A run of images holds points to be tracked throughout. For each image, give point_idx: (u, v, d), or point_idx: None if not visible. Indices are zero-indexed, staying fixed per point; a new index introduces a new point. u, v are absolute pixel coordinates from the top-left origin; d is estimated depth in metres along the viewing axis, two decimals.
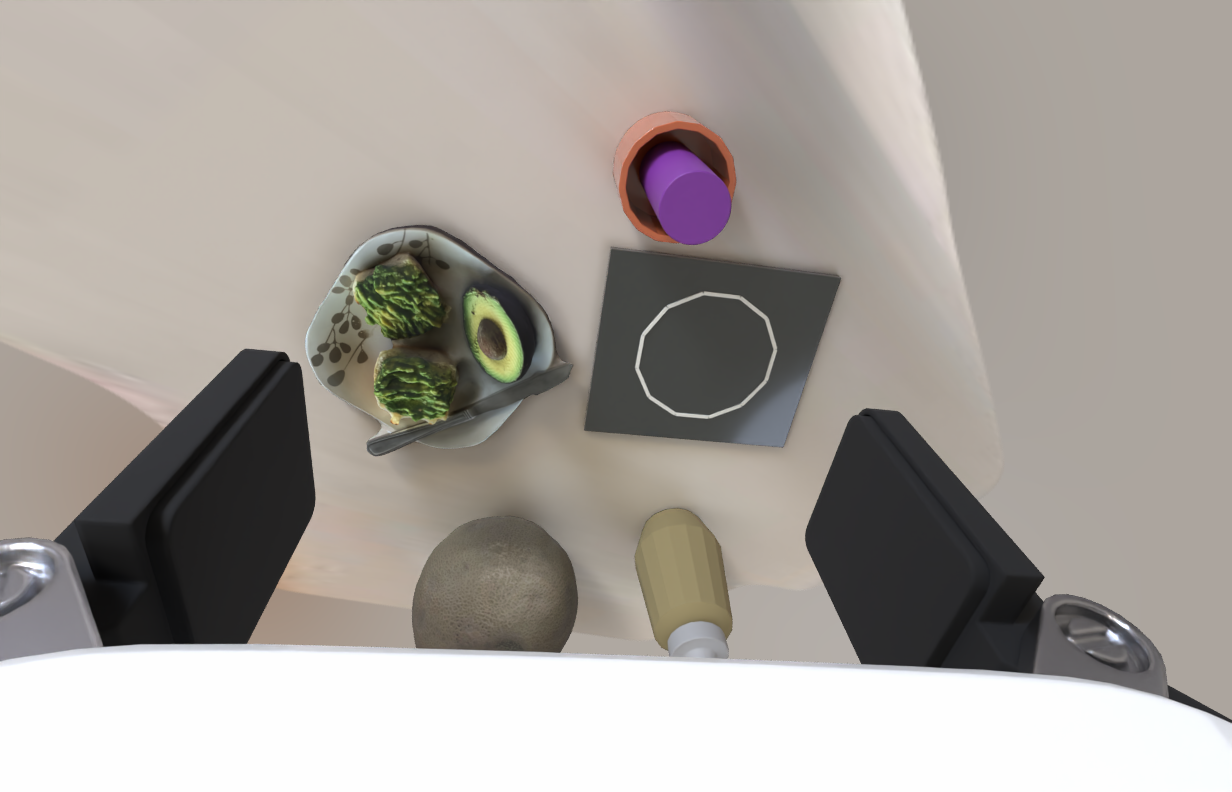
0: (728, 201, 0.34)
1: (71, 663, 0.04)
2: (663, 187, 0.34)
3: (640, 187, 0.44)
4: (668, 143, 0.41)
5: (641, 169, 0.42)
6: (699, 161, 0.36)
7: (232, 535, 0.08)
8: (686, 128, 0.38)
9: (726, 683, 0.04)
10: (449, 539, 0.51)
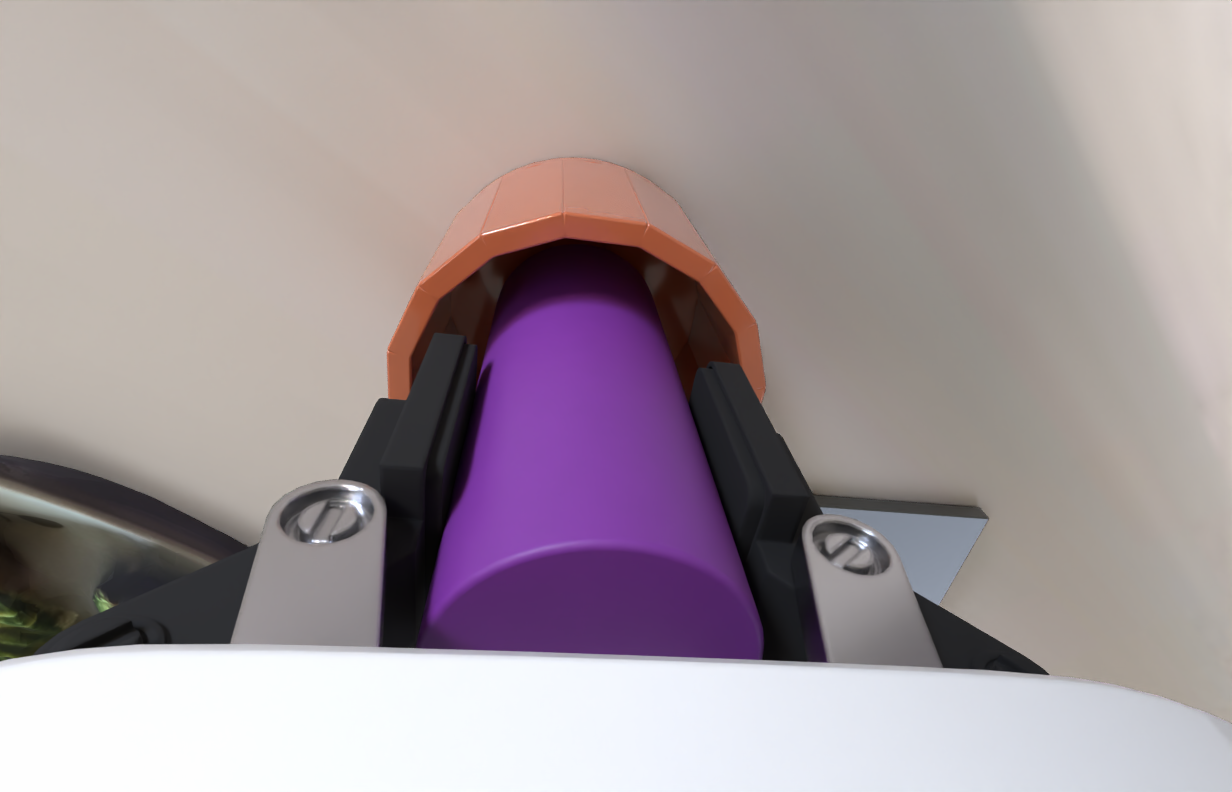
0: (749, 642, 0.07)
1: (71, 663, 0.04)
2: (436, 580, 0.07)
3: None
4: (564, 255, 0.14)
5: None
6: (632, 382, 0.09)
7: None
8: (595, 236, 0.11)
9: (726, 683, 0.04)
10: None
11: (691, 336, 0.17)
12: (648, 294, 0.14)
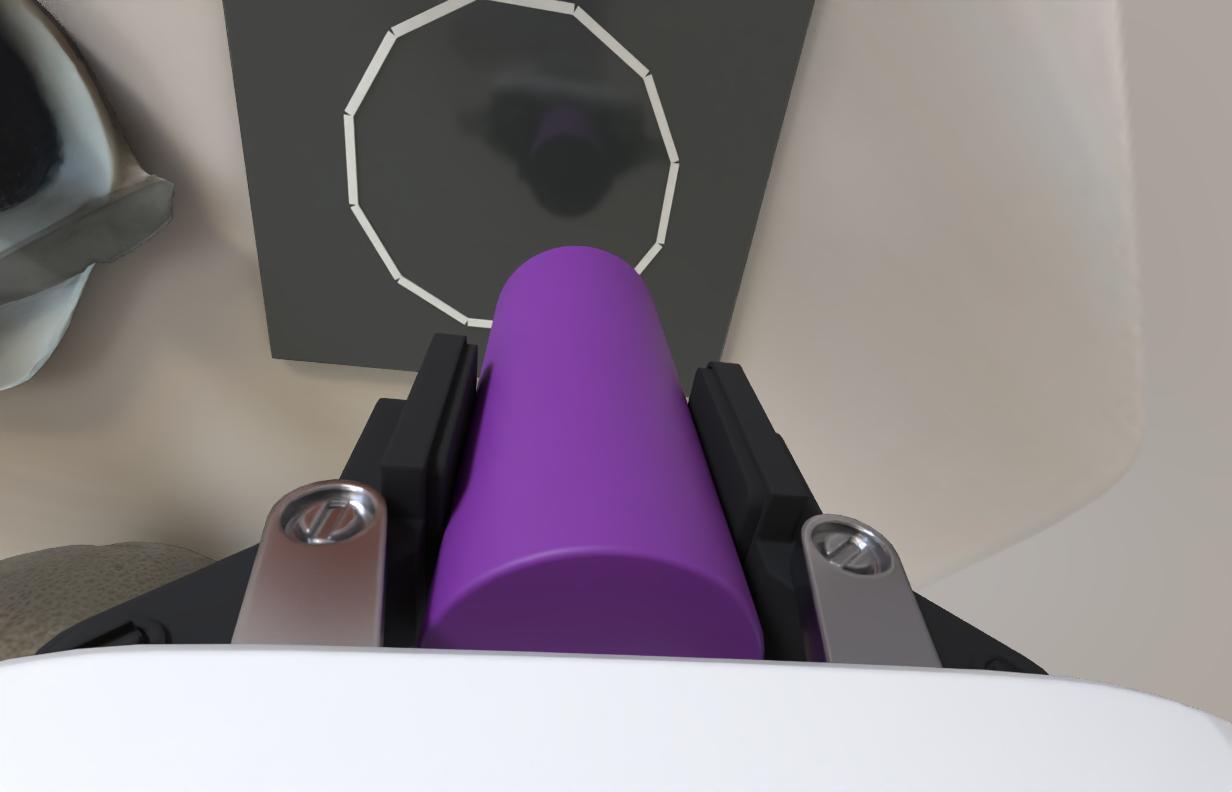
0: (750, 647, 0.07)
1: (71, 663, 0.04)
2: (436, 585, 0.07)
3: None
4: (564, 257, 0.14)
5: None
6: (632, 386, 0.09)
7: None
8: None
9: (726, 683, 0.04)
10: None
11: None
12: (648, 296, 0.14)
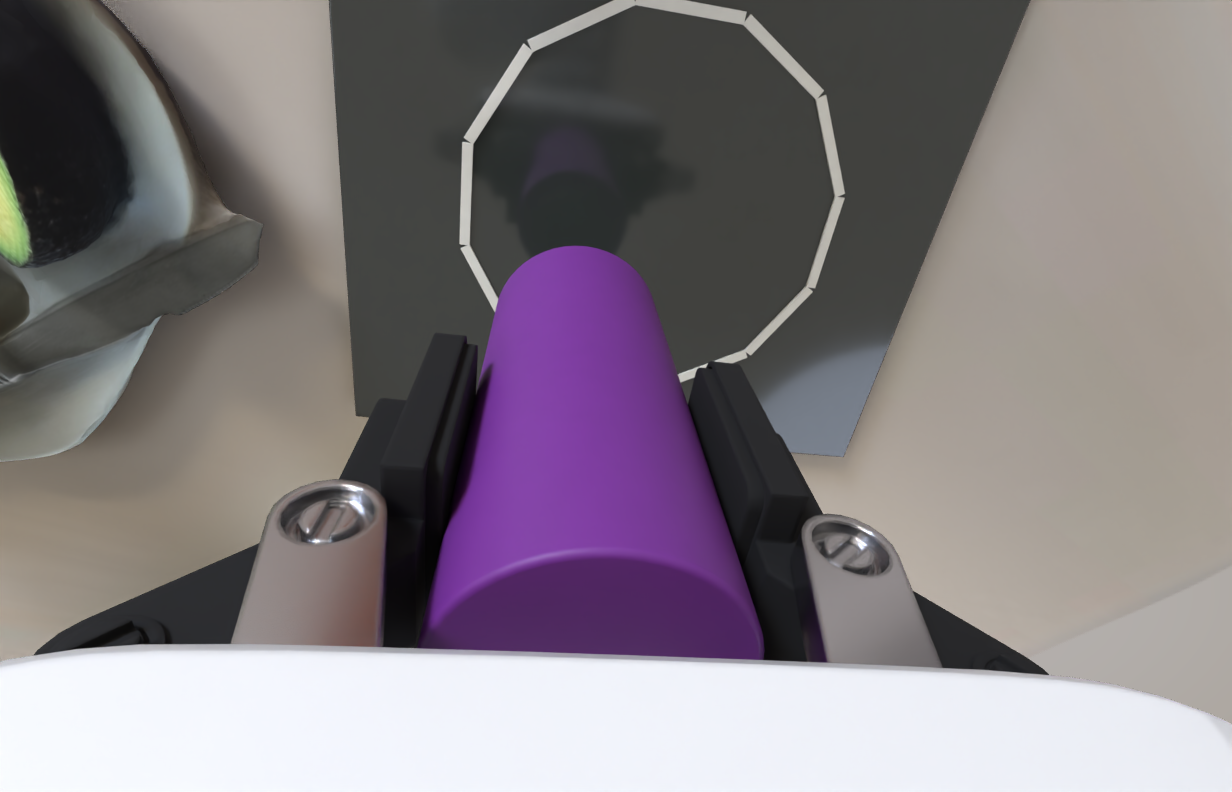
0: (750, 649, 0.07)
1: (71, 663, 0.04)
2: (436, 587, 0.07)
3: None
4: (564, 257, 0.14)
5: None
6: (632, 387, 0.09)
7: None
8: None
9: (726, 683, 0.04)
10: None
11: None
12: (648, 296, 0.14)
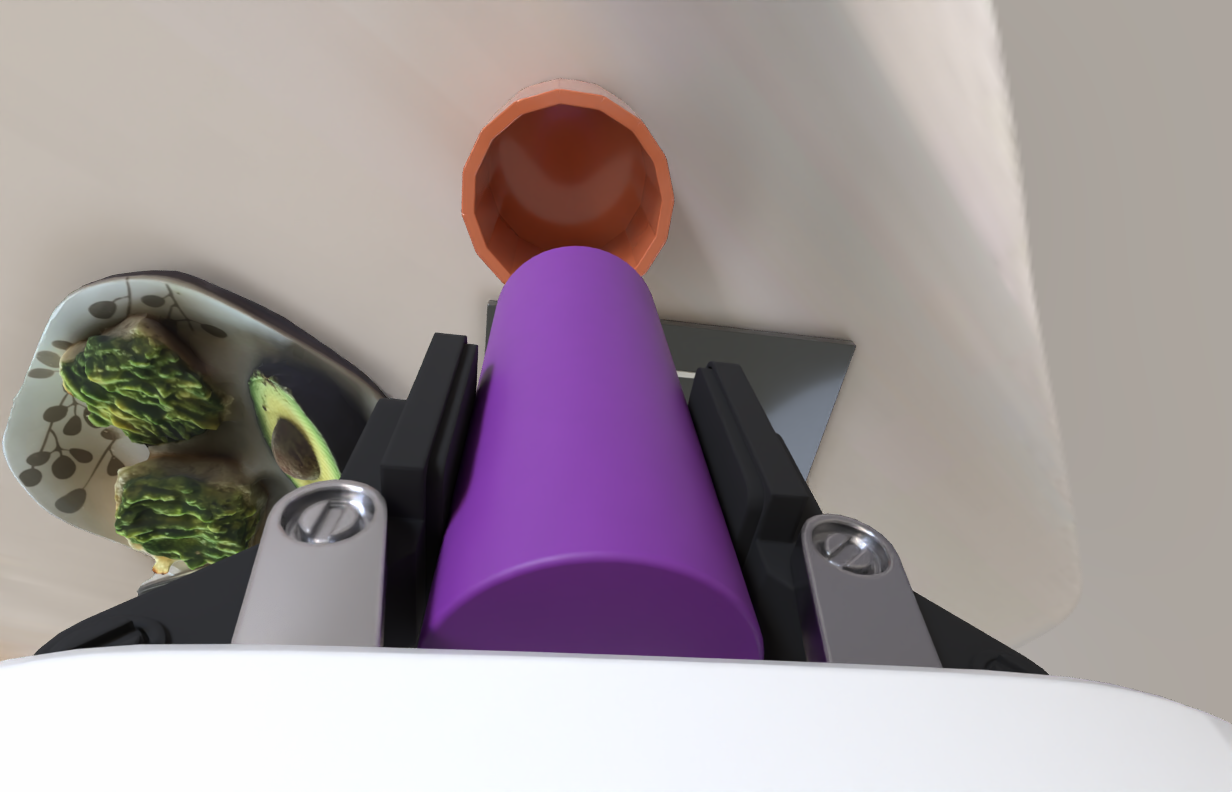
0: (750, 652, 0.07)
1: (71, 663, 0.04)
2: (436, 590, 0.07)
3: (526, 207, 0.27)
4: (564, 257, 0.14)
5: None
6: (632, 389, 0.09)
7: None
8: (576, 103, 0.20)
9: (726, 683, 0.04)
10: None
11: (642, 199, 0.27)
12: (648, 297, 0.14)
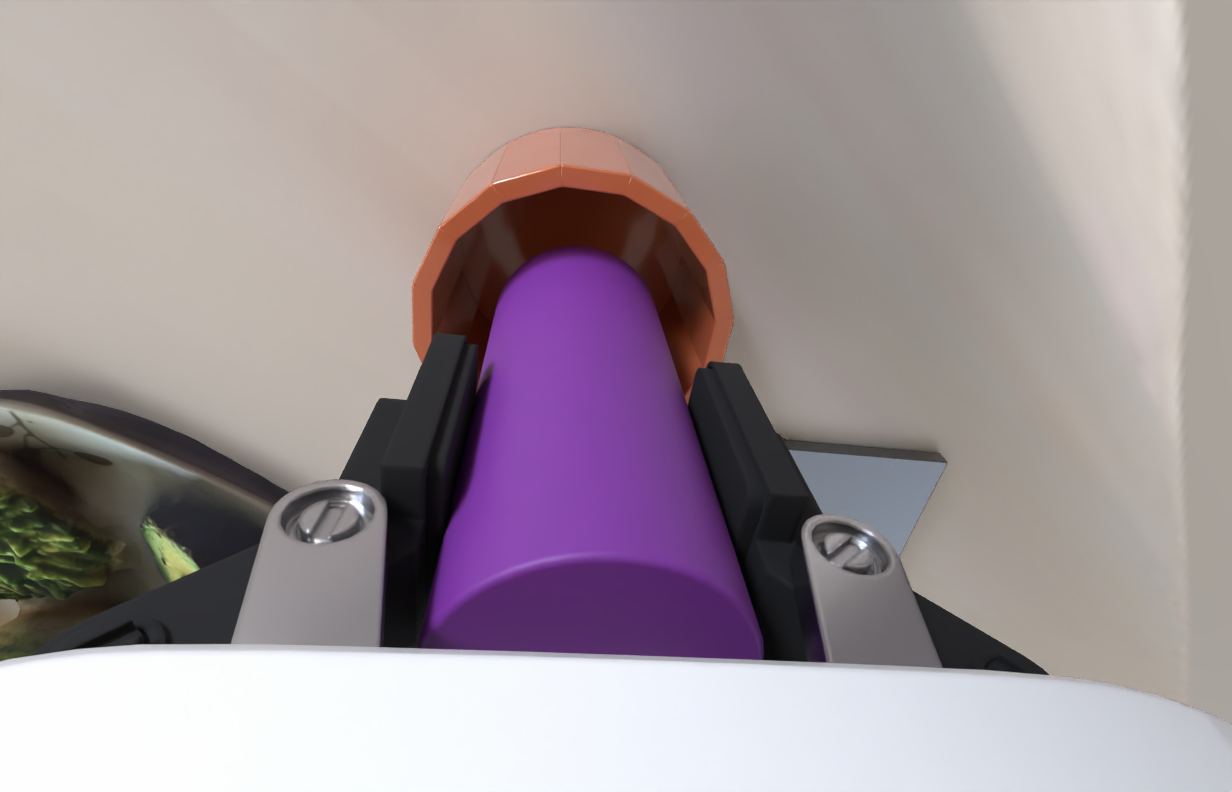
0: (749, 652, 0.07)
1: (72, 663, 0.04)
2: (436, 590, 0.07)
3: None
4: (564, 258, 0.14)
5: None
6: (632, 389, 0.09)
7: None
8: (587, 186, 0.13)
9: (726, 684, 0.04)
10: None
11: (675, 289, 0.19)
12: (648, 297, 0.14)
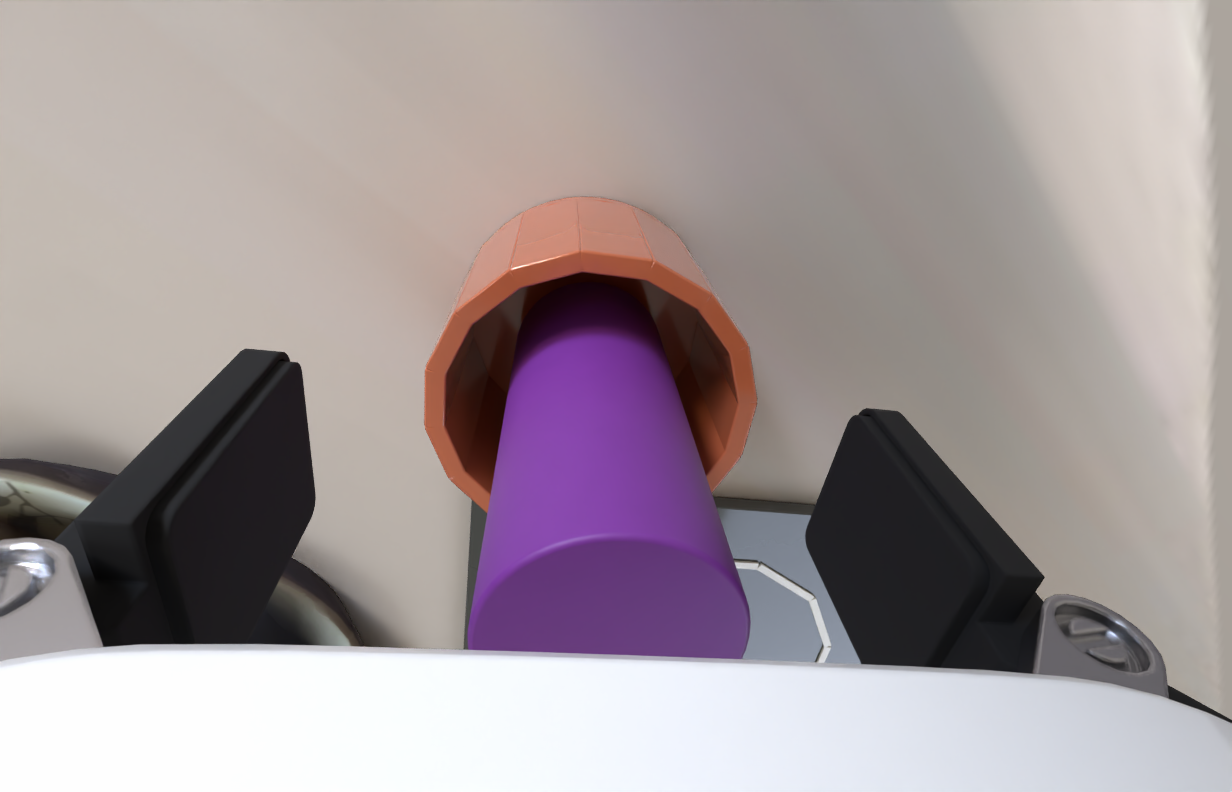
0: (739, 619, 0.09)
1: (71, 663, 0.04)
2: (486, 567, 0.09)
3: None
4: (579, 293, 0.16)
5: None
6: (642, 407, 0.11)
7: (232, 535, 0.08)
8: (608, 271, 0.12)
9: (726, 683, 0.04)
10: None
11: (691, 356, 0.19)
12: (653, 327, 0.16)
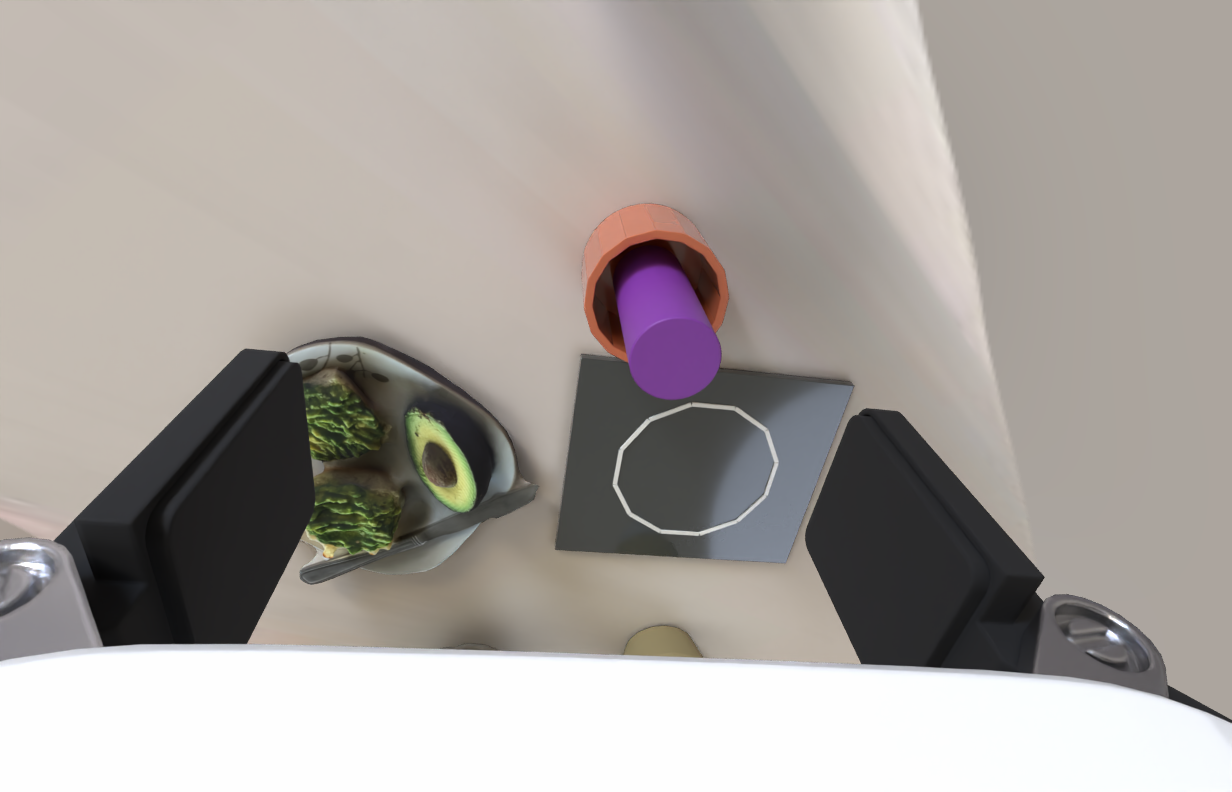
0: (717, 350, 0.27)
1: (72, 663, 0.04)
2: (635, 333, 0.27)
3: None
4: (647, 250, 0.34)
5: (614, 279, 0.34)
6: (682, 289, 0.29)
7: (232, 535, 0.08)
8: (666, 238, 0.30)
9: (726, 683, 0.04)
10: None
11: (699, 284, 0.37)
12: (681, 266, 0.34)
